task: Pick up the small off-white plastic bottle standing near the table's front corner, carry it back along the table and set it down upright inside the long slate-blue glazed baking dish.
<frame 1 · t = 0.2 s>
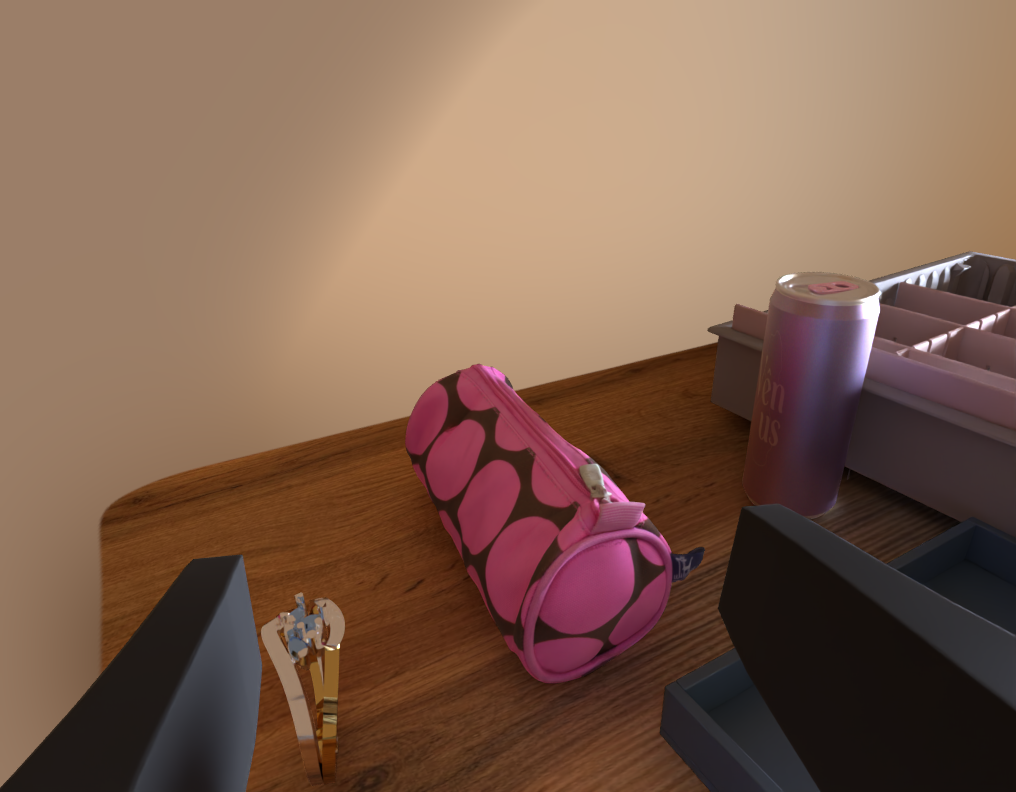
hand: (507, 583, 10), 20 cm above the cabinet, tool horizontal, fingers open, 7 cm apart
pencil case: (521, 558, 41), on the cabinet
ring: (329, 752, 30), on the cabinet
dish: (936, 711, 31), on the cabinet
beverage can: (786, 500, 46), on the cabinet
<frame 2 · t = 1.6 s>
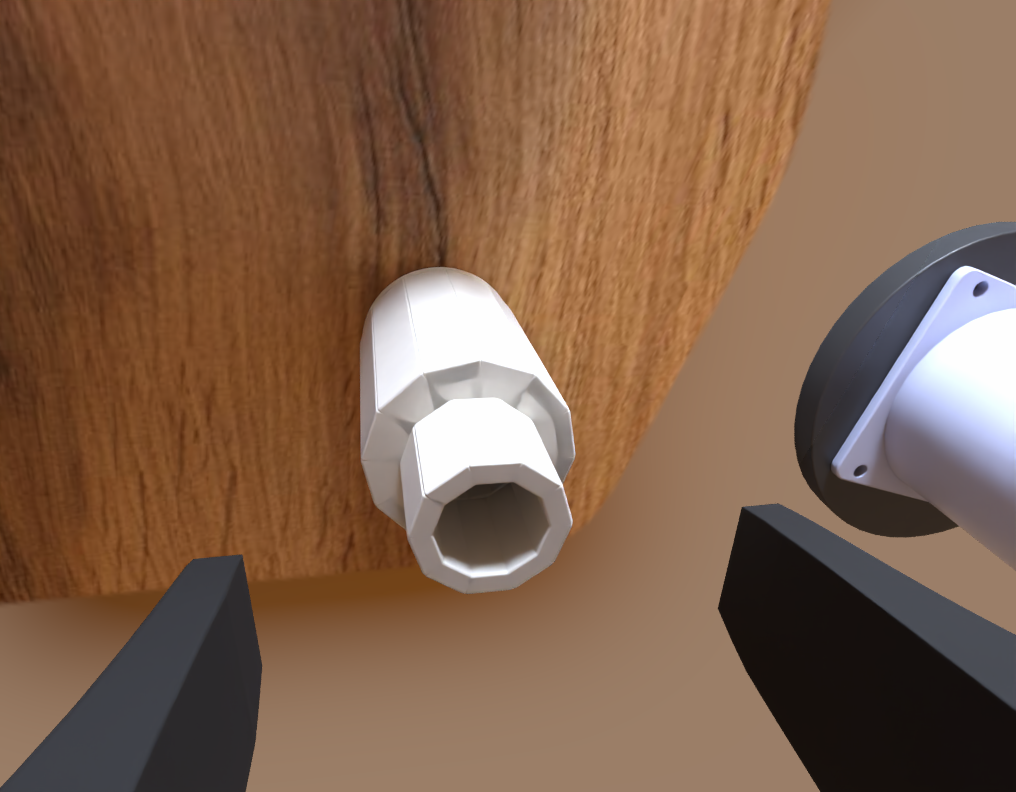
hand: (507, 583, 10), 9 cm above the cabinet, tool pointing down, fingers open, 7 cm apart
bottle: (438, 339, 18), on the cabinet
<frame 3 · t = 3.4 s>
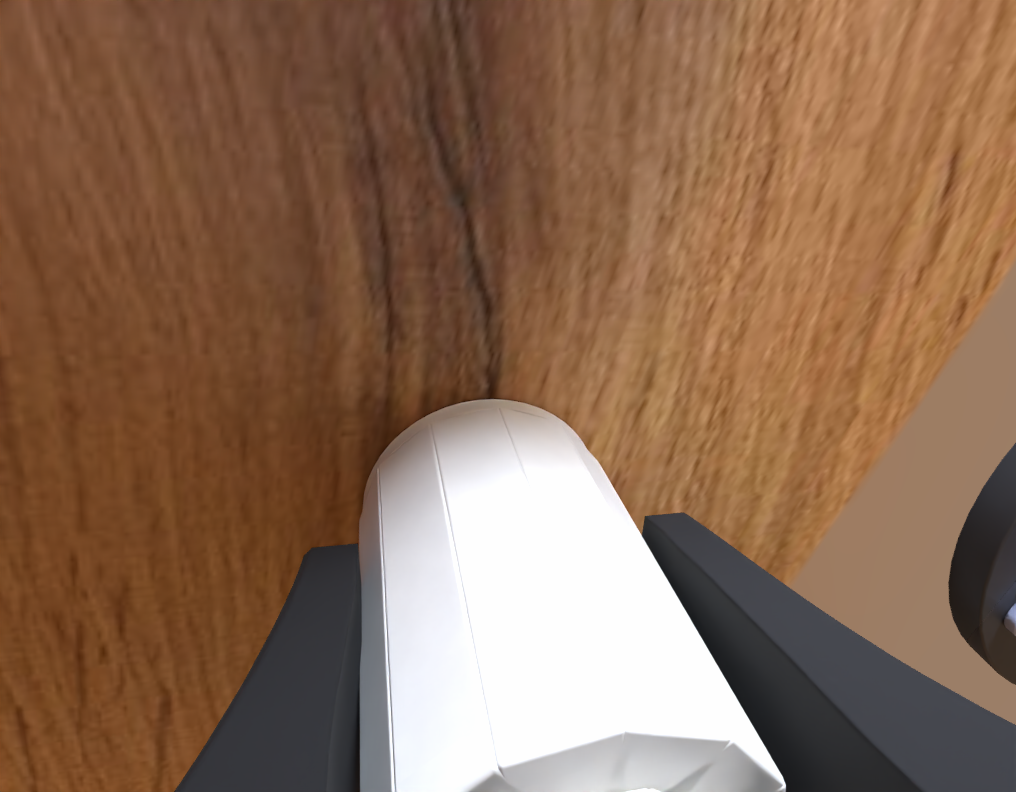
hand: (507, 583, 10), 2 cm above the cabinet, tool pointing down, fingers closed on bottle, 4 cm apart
bottle: (482, 502, 12), on the cabinet, touching gripper
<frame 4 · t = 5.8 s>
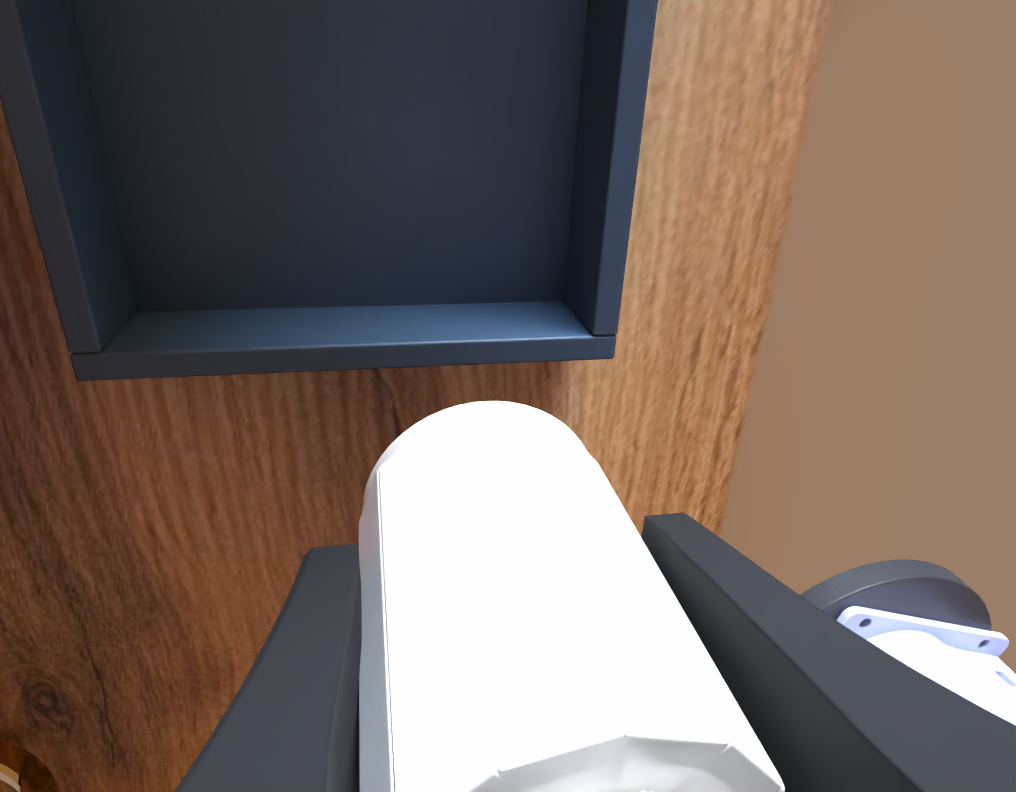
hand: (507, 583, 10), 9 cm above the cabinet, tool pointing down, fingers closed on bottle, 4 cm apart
bottle: (482, 503, 12), point 7 cm above the cabinet, touching gripper
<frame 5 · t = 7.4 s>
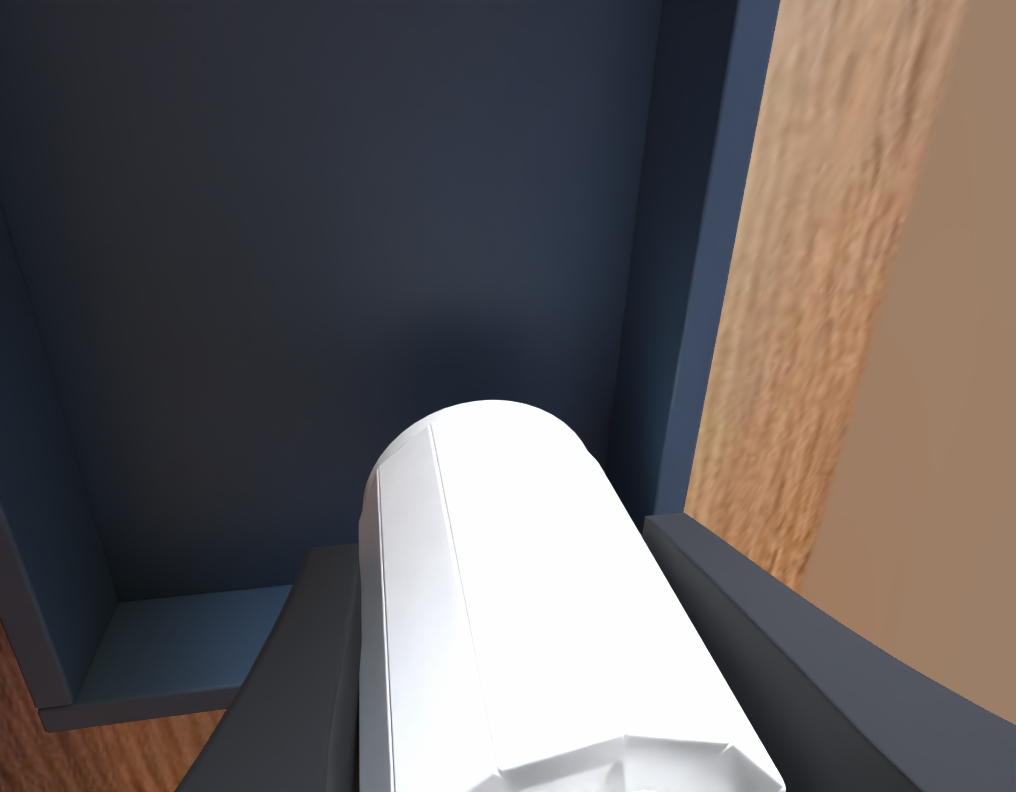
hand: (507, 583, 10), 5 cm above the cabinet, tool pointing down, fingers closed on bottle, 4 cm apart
bottle: (482, 503, 11), point 3 cm above the cabinet, touching gripper
when the fingers open (2 cm above the cabinet, at t = 8.6 s): bottle stays where it is, resting on dish.
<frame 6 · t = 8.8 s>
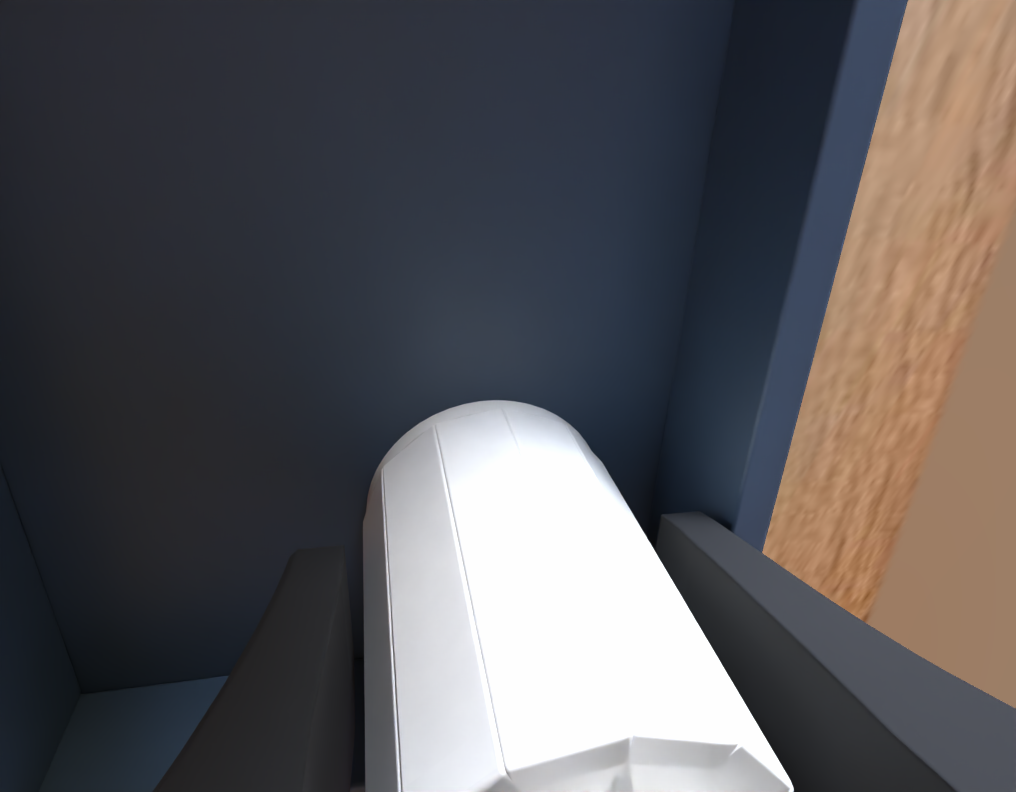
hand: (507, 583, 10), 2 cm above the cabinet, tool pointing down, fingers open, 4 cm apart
bottle: (486, 503, 11), resting on dish
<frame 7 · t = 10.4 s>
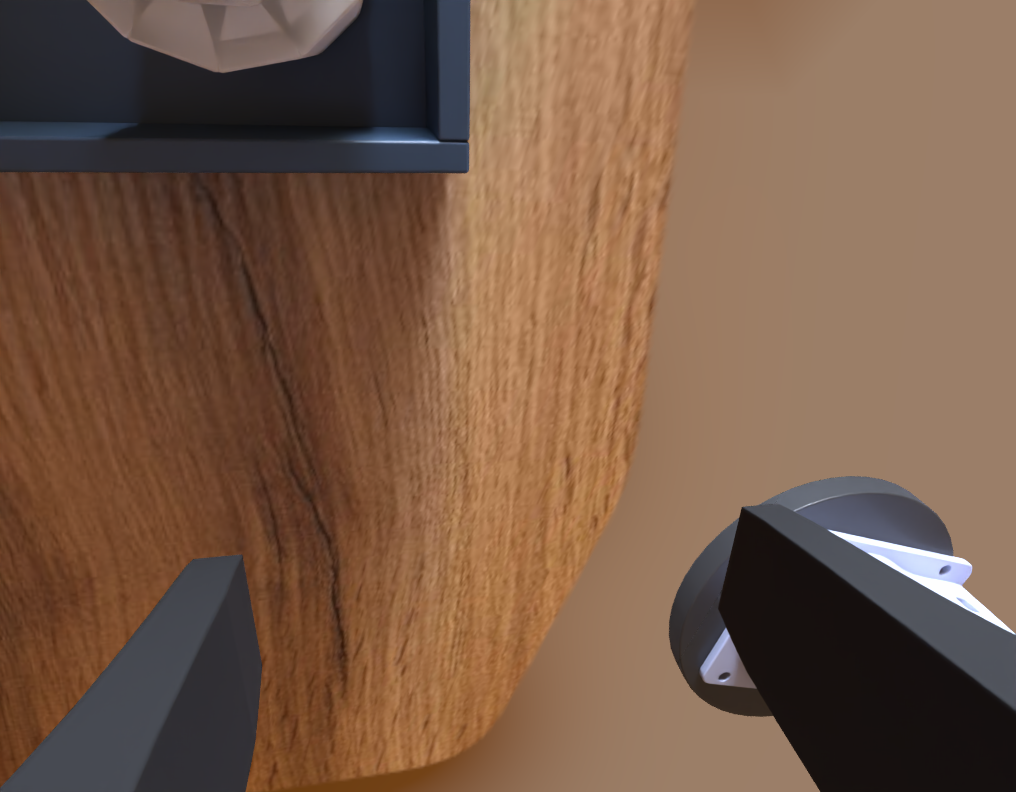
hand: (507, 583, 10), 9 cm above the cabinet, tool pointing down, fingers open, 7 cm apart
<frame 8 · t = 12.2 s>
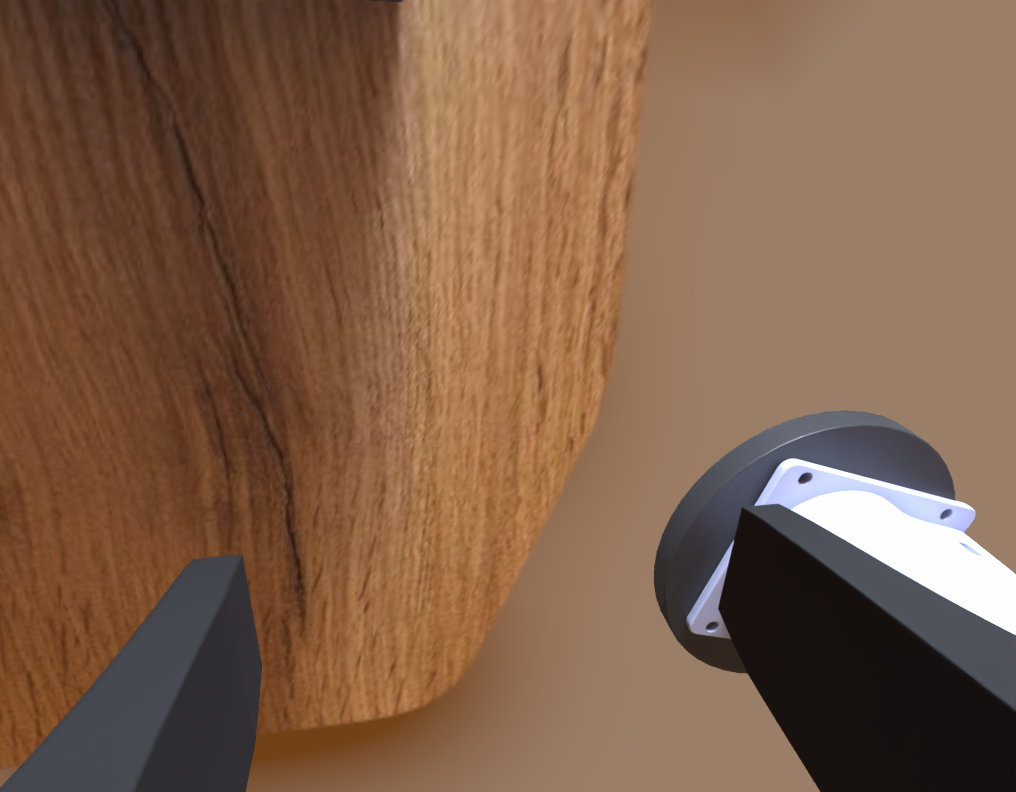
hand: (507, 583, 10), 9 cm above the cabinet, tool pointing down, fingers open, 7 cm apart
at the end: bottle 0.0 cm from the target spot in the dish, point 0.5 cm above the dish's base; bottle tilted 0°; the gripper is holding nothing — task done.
